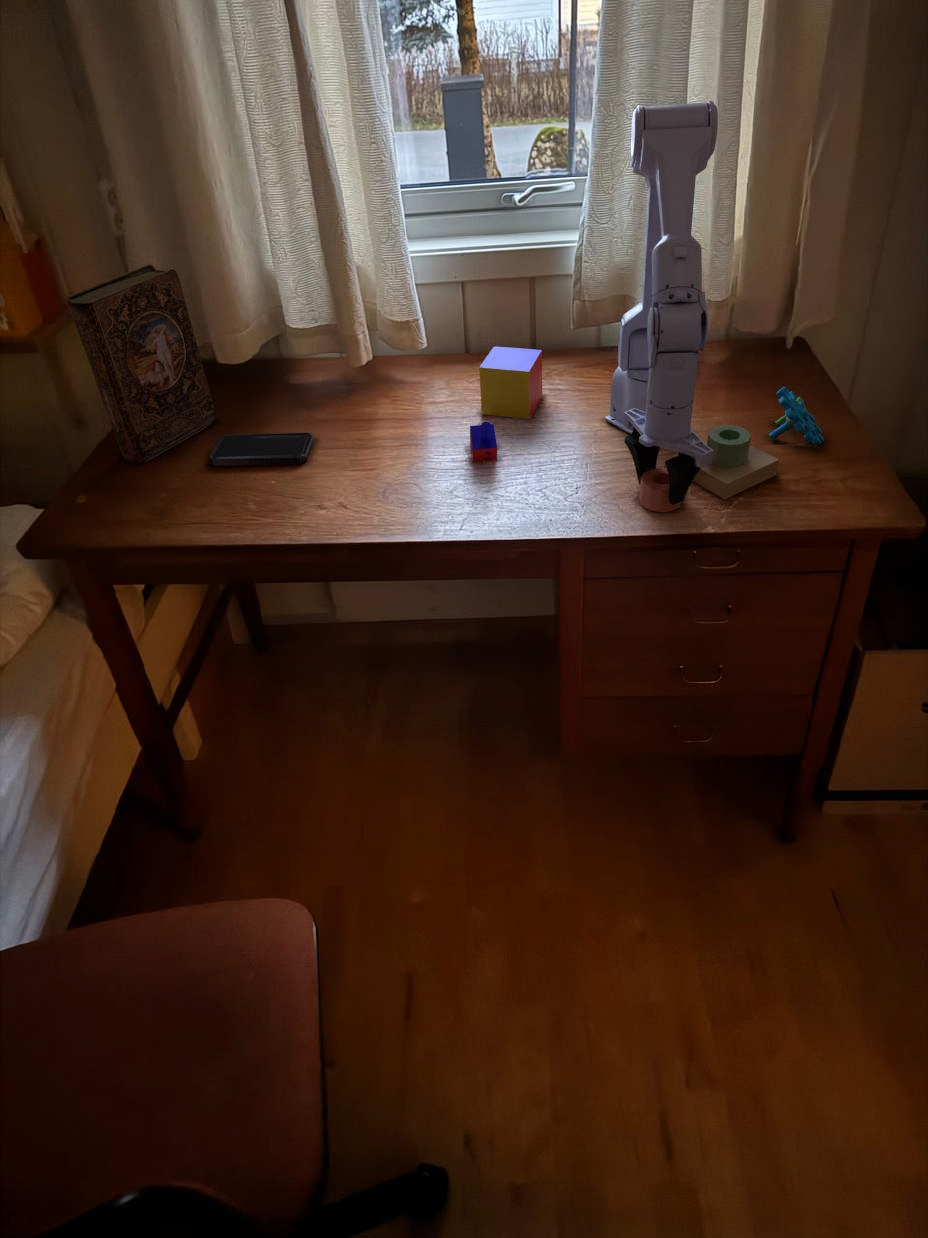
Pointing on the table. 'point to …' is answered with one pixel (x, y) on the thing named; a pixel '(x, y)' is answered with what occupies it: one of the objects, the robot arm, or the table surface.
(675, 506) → the coral ring
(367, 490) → the table surface
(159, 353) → the book
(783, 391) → the gear
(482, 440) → the toy building block
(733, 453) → the green ring
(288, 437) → the phone
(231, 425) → the table surface
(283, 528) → the table surface
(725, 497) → the birch block
